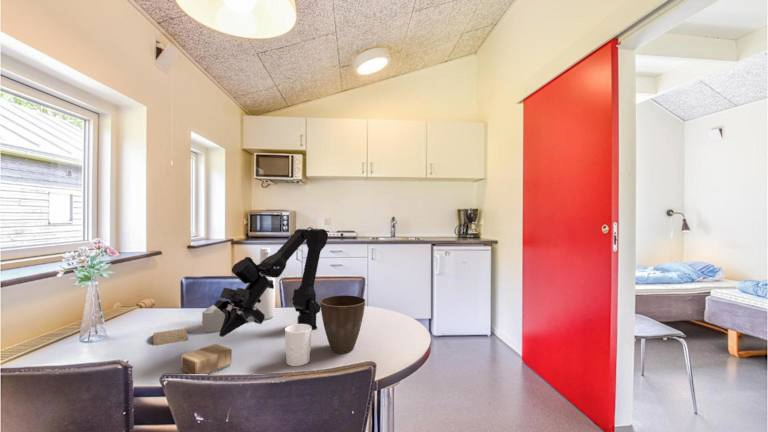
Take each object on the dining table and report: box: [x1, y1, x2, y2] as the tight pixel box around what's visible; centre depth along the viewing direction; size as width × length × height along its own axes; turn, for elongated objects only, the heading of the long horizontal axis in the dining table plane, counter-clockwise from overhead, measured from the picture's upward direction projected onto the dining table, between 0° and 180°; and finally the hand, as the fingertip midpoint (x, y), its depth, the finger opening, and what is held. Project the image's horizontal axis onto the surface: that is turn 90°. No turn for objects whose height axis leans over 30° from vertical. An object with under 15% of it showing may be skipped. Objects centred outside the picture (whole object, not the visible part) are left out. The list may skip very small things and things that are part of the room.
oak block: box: [180, 343, 233, 375], centre depth 91 cm, size 4×8×10 cm
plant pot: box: [319, 294, 366, 354], centre depth 105 cm, size 15×15×16 cm
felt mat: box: [206, 364, 231, 375], centre depth 91 cm, size 8×10×1 cm
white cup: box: [284, 323, 313, 367], centre depth 96 cm, size 8×8×10 cm
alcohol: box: [254, 247, 276, 321], centre depth 138 cm, size 9×9×30 cm
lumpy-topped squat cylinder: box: [201, 303, 240, 333], centre depth 125 cm, size 10×13×9 cm
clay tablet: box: [152, 327, 189, 347], centre depth 114 cm, size 14×10×3 cm
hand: (220, 336), depth 95 cm, fingers closed
